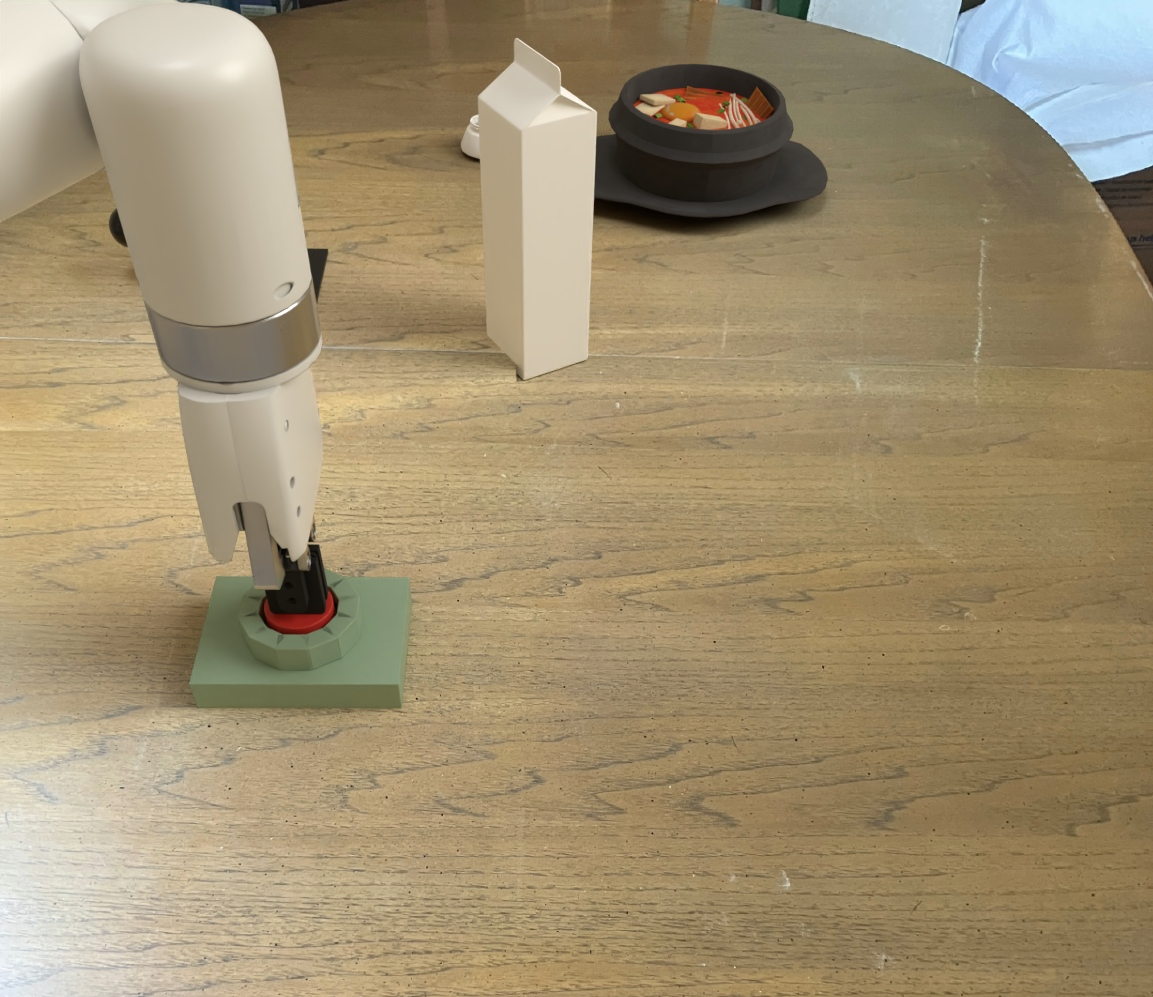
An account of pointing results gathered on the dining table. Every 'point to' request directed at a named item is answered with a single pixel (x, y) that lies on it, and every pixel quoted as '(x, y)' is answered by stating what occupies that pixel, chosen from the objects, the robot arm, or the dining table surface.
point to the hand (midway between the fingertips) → (300, 604)
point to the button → (299, 620)
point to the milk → (537, 214)
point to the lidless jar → (471, 138)
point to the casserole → (703, 145)
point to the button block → (305, 649)
